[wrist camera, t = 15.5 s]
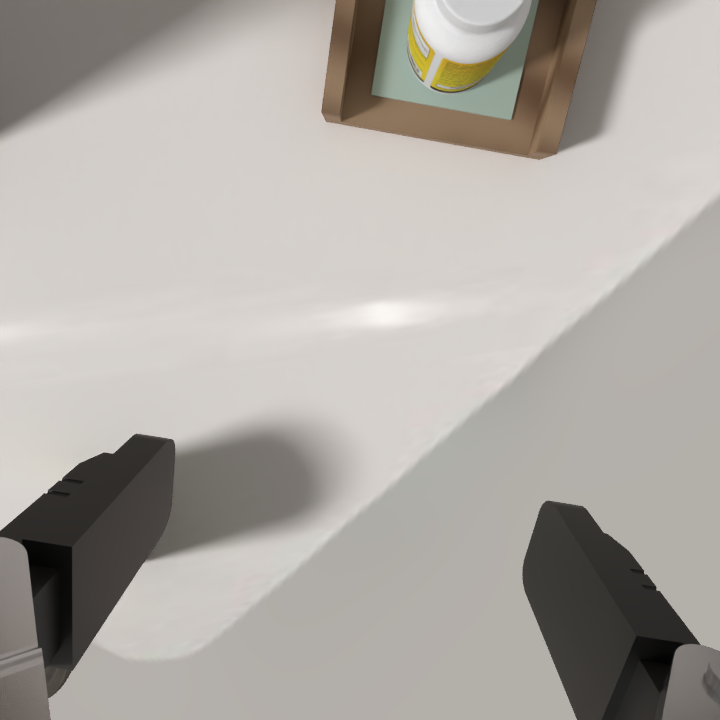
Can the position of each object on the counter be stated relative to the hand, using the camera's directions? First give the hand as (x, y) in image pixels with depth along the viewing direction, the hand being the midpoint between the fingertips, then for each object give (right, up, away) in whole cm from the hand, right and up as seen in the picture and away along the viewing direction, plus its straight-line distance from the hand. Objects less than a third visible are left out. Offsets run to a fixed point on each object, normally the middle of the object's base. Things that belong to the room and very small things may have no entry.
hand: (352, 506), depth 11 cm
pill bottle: (+6, +25, +23) cm, 34 cm away
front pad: (+7, +25, +23) cm, 34 cm away
